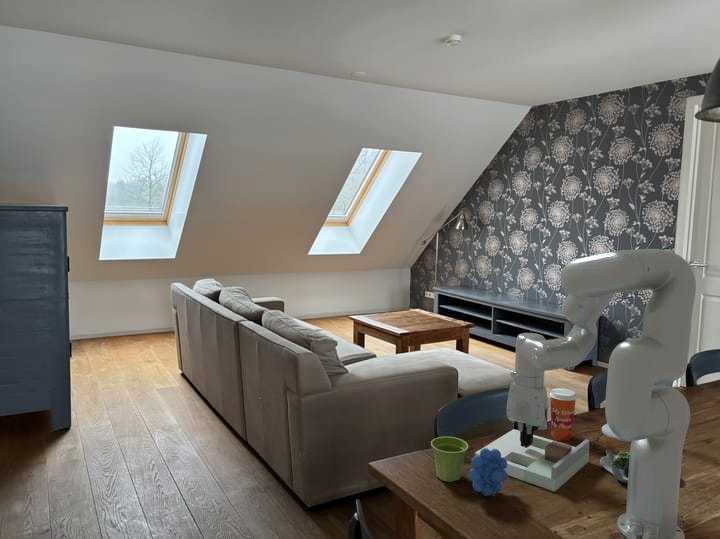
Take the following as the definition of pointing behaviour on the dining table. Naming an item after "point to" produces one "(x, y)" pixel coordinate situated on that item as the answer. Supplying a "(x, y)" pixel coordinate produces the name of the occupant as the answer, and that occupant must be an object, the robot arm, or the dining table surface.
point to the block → (556, 451)
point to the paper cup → (562, 413)
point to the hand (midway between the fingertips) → (526, 445)
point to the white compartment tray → (538, 460)
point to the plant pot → (449, 457)
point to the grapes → (488, 471)
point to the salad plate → (617, 465)
